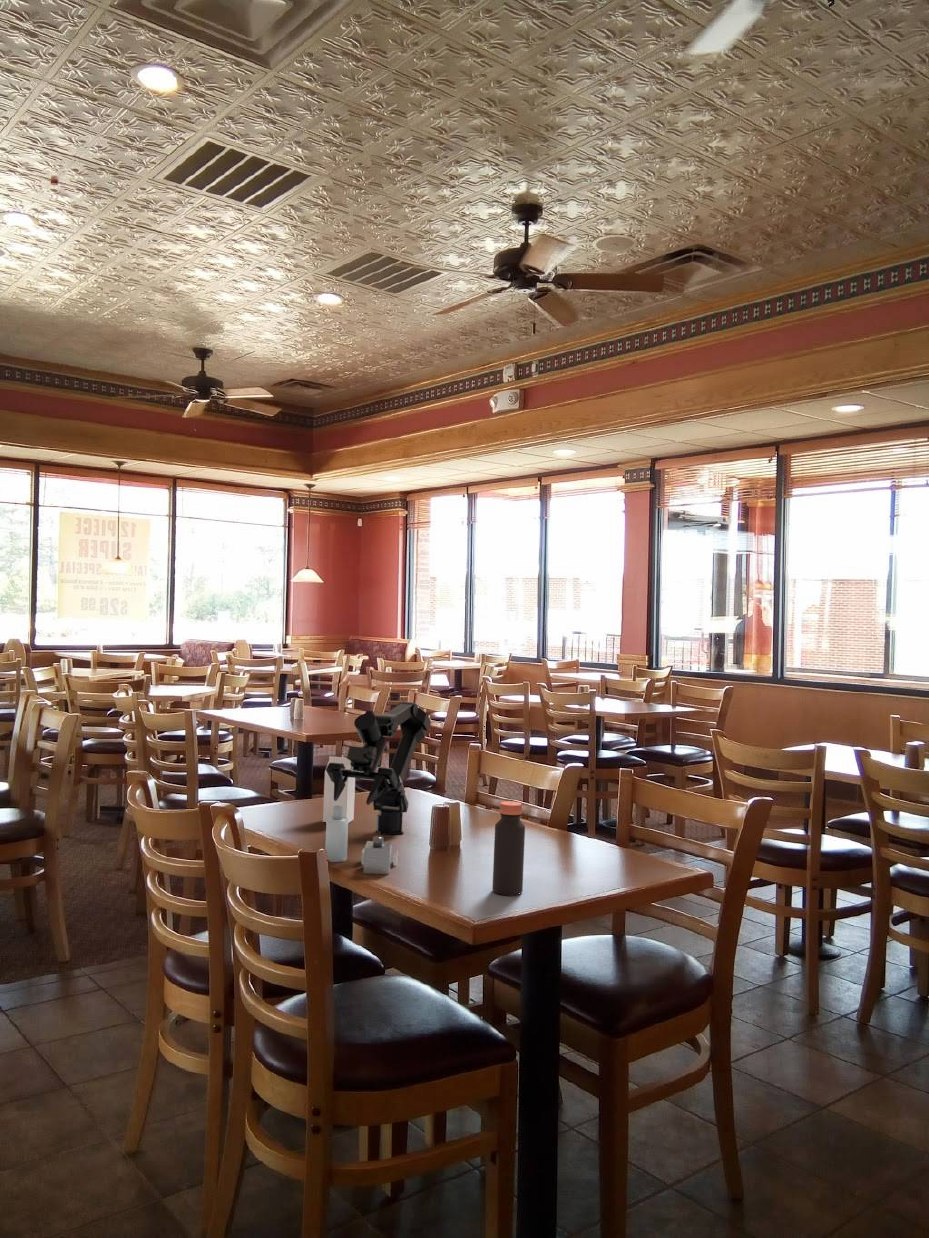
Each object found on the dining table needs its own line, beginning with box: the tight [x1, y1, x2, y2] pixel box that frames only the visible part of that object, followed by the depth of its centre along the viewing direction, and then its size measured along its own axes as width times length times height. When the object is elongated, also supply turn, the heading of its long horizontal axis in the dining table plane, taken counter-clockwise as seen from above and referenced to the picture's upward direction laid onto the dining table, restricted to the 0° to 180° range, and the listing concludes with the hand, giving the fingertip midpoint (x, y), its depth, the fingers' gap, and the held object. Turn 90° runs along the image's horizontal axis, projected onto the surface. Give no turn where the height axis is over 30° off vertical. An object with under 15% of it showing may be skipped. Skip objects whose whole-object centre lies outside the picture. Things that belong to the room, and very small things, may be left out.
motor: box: [360, 835, 399, 875], centre depth 231 cm, size 12×9×8 cm
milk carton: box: [322, 755, 356, 824], centre depth 280 cm, size 7×7×19 cm
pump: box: [324, 806, 349, 863], centre depth 237 cm, size 5×5×13 cm
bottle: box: [491, 800, 526, 896], centre depth 215 cm, size 7×7×20 cm
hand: (350, 801), depth 244 cm, fingers open, 9 cm apart
